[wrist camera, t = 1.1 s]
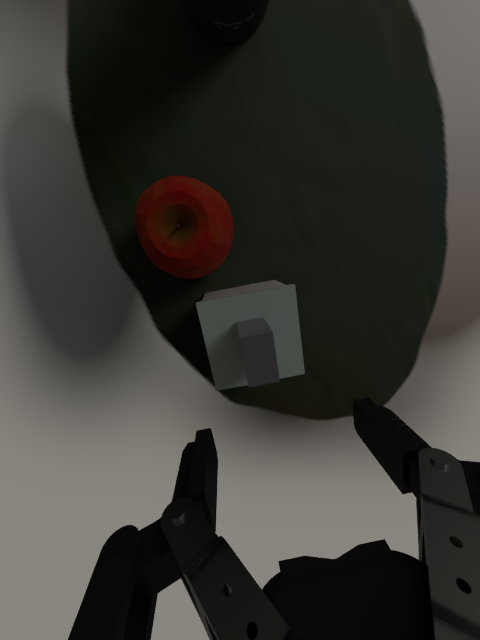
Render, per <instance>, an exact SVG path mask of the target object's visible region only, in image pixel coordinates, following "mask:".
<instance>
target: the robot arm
mask: <svg viewBox="0 0 480 640" xmlns="http://www.w3.org/2000/svg"><path fill="white" fill-rule="evenodd" d="M184 2H185V4H186V7H187V10H188V12H189V14H190V16H191V18H192V20H193V22H194V23H195V24H196V25H197V27H198V28H199V29H200V30H201V31H202V32H203V33H204V34H206V35H207V36H208V37H210V38H212V39H214V40H216V41H219V42H223V43H235V42H238V41H241V40H243V39H245V38H247V37H248V36H250V35H251V34H252V33H253V32H254V31H255V30H256V29H257V28H258V26H259V24H260V23H261V21H262V20H263V17H264V15H265V12H266V9H267V5H268V0H184ZM353 416H354V426H355V429H356V431H357V434H358V435H359V436H360V438H361V439H362V441H363V442H364V443H365V444H366V446H367V447H368V449H369V450H370V451H371V453H372V454H373V455H374V456H375V458H376V459H377V461H378V462H379V463H380V465H381V466H382V467H383V468H384V470H385V471H386V472H387V474H388V475H389V477H390V478H391V479H392V481H393V482H394V483H395V485H396V486H397V487H398V489H399V490H400V491H401V492H402V494H406V493H411V492H412V493H413V494H414V495H415V497H416V498H417V500H416V506H417V523H418V524H417V525H418V544H419V560H418V559H416V558H414V557H412V556H410V555H407V554H404V553H402V552H398V551H393V550H390V548H389V546H388V544H387V543H386V541H385V539H384V540H379V541H374V542H369V543H365V544H360V545H357V546H356V547H354V548H353V549H351V550H350V551H348V552H346V553H345V554H343V555H342V556H340V557H339V558H337V559H326V558H318V557H310V556H302V557H297V558H292V559H287V560H283V561H279V566H280V572H279V573H278V574H276V575H275V576H274V577H273V578H271V579H270V580H269V581H268V583H267V584H266V585H265V586H264V588H263V589H261V588H260V587H259V585H258V584H257V583H256V581H255V580H254V579H253V577H252V576H251V574H250V573H249V572H248V570H247V569H246V568H245V566H244V565H243V563H242V562H241V561H240V559H239V558H238V557H237V556H236V554H235V553H234V551H233V550H232V548H231V547H230V546H229V544H228V543H227V542H226V540H225V539H224V538H223V537H222V536H220V537H218V536H217V535H216V533H215V531H216V503H217V502H216V501H217V471H218V458H217V451H216V447H215V443H214V439H213V435H212V431H211V429H210V428H209V429H203V430H199V431H197V432H196V438H195V442H190V443H188V444H187V446H186V447H185V449H184V450H183V452H182V457H181V463H180V466H179V471H178V476H177V480H176V485H175V490H174V494H173V499H172V502H171V503H170V504H169V505H168V506H167V507H166V509H165V510H164V512H163V514H162V517H161V518H160V519H159V520H157V521H155V522H154V523H152V524H150V525H148V526H147V527H145V528H143V529H141V530H140V531H138V529H137V528H136V527H135V526H133V525H127V526H124V527H122V528H120V529H118V530H117V531H116V532H115V533H113V534H112V535H111V536H110V537H109V538H108V540H107V541H106V543H105V544H104V546H103V548H102V550H101V552H100V555H99V558H98V561H97V563H96V566H95V569H94V571H93V574H92V576H91V579H90V582H89V585H88V587H87V590H86V593H85V595H84V598H83V601H82V603H81V606H80V609H79V612H78V614H77V617H76V619H75V622H74V625H73V628H72V631H71V633H70V635H69V638H68V640H150V639H151V633H152V627H153V620H154V614H155V607H156V601H157V594H158V593H159V592H160V591H162V590H163V589H165V588H166V587H168V586H169V585H171V584H172V583H174V582H175V581H177V580H178V579H180V578H181V579H182V581H183V583H184V585H185V587H186V589H187V591H188V594H189V596H190V598H191V600H192V602H193V604H194V606H195V608H196V610H197V612H198V614H199V617H200V618H201V621H202V623H203V625H204V627H205V630H206V632H207V634H208V637H209V639H210V640H480V462H470V461H460V460H457V459H456V458H455V457H454V456H452V455H451V454H449V453H447V452H445V451H443V450H440V449H436V448H431V447H430V446H429V445H428V444H427V443H426V442H425V441H424V440H423V439H422V438H421V437H420V436H418V435H417V434H416V433H415V432H414V431H413V430H412V429H411V428H410V427H409V426H408V425H406V424H405V423H404V422H403V421H402V420H401V419H399V417H398V416H397V415H395V413H393V412H392V411H391V410H389V409H387V408H385V407H383V406H382V405H380V406H377V405H376V404H375V403H374V402H373V401H372V400H370V399H369V398H363V399H358V400H354V401H353Z"/></svg>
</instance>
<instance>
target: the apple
mask: <svg viewBox="0 0 480 640" xmlns="http://www.w3.org/2000/svg"><path fill="white" fill-rule="evenodd" d="M135 224H136V229H137V234H138V238H139V240H140V242H141V245H142V247H143V249H144V251H145V253H146V255H147V256H148V258H149V260H150V261H151V262H153V263H154V264H155V265H156V266H157V267H158V268H159V269H161V270H163V271H165V272H167V273H168V274H170V275H173V276H176V277H180V278H185V279H193V278H199V277H202V276H205V275H207V274H209V273H211V272H212V271H214V270H216V269H217V268H218V267H219V266H220V265H221V264H222V263H223V262H224V260H225V258H226V257H227V255H228V253H229V252H230V248H231V244H232V239H233V219H232V215H231V211H230V208H229V206H228V204H227V203H226V201H225V199H224V198H223V197H222V196H221V195H220V194H219V193H218V192H217V191H216V190H214V189H213V188H211V187H210V186H208V185H207V184H205V183H203V182H201V181H199V180H197V179H194V178H189V177H185V176H169V177H167V178H164V179H161V180H159V181H156V182H155V183H153V184H152V185H151V186H150V187H148V188H147V189H146V190H145V191H144V192H143V193H142V194H141V196H140V197H139V199H138V201H137V204H136V208H135Z"/></svg>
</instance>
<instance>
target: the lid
mask: <svg viewBox="0 0 480 640" xmlns="http://www.w3.org/2000/svg"><path fill="white" fill-rule="evenodd" d="M196 307H197V311H198V315H199V320H200V324H201V328H202V332H203V337H204V341H205V345H206V349H207V353H208V358H209V362H210V366H211V370H212V374H213V379H214V383H215V387H216V391H218V390H224V389H229V388H234V387H239V386H244V385H248V387H254V386H259V385H264V384H269V383H274V382H279V381H280V378H285V377H290V376H295V375H301V374H305V371H304V362H303V353H302V344H301V335H300V326H299V317H298V308H297V299H296V290H295V285H294V284H291V285H285V286H280V287H275V288H269V289H264V290H259V291H254V292H248V293H243V294H238V295H232V296H227V297H222V298H216V299H211V300H206V301H201V302H196Z"/></svg>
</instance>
